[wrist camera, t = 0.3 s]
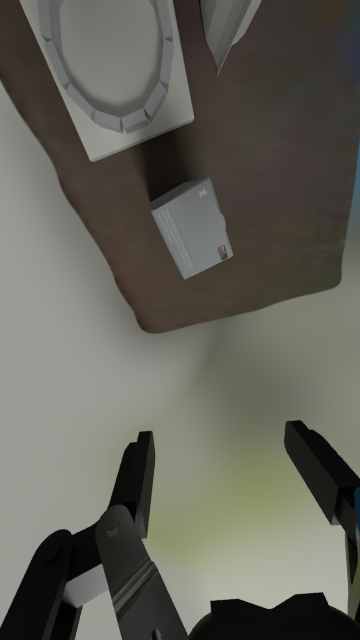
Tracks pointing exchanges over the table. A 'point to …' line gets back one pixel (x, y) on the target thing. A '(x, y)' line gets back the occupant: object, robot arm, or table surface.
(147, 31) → the collar socket
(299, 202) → the table surface
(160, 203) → the skincare box
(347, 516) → the robot arm
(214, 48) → the paper towel roll
